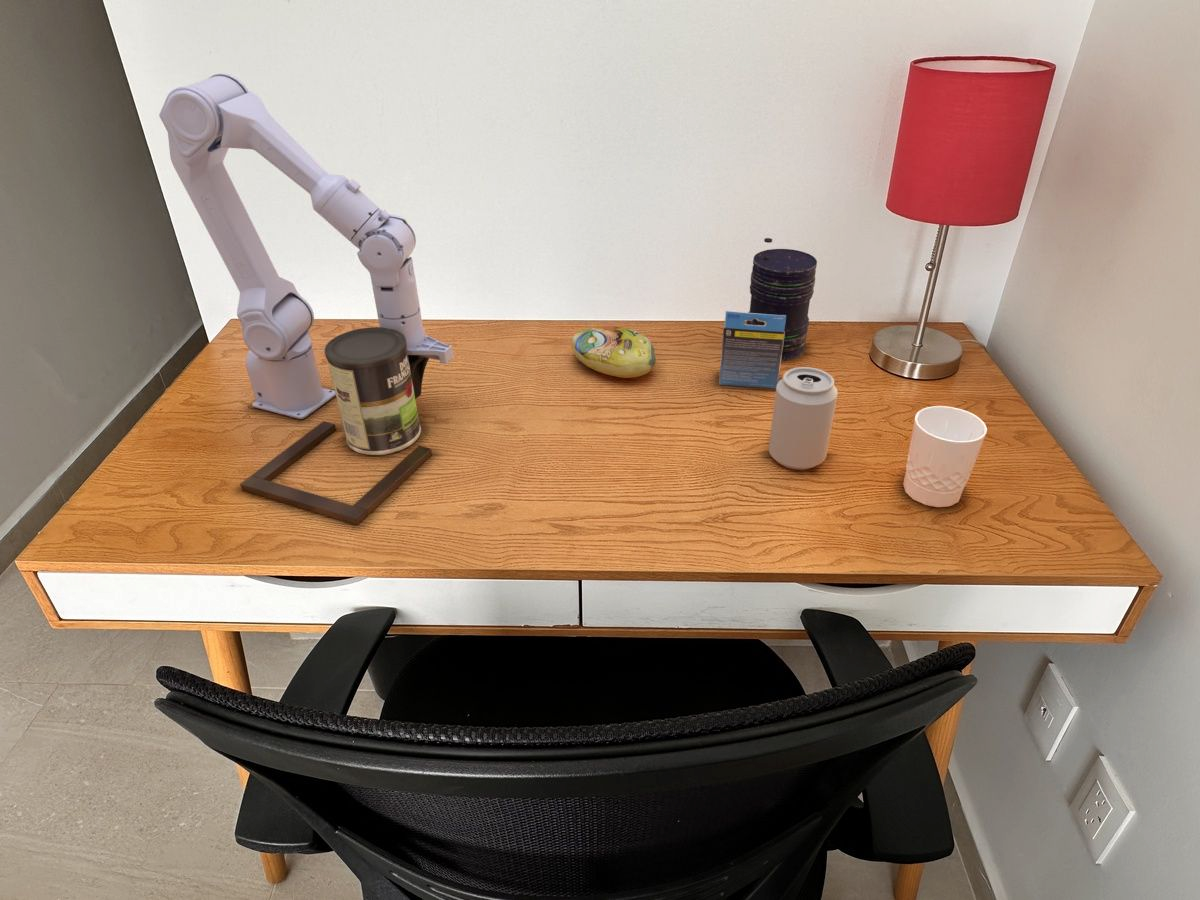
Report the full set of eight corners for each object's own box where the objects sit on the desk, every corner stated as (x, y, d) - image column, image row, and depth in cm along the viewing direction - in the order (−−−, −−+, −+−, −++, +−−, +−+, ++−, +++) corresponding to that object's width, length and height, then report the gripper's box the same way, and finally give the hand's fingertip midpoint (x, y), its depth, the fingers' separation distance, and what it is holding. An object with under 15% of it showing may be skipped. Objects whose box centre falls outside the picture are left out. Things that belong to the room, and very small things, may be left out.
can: (828, 446, 107) (842, 367, 100) (822, 478, 101) (837, 396, 94) (772, 437, 109) (782, 359, 102) (763, 467, 103) (773, 387, 96)
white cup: (957, 518, 94) (979, 449, 88) (890, 497, 97) (907, 429, 92) (971, 484, 99) (992, 417, 94) (907, 465, 103) (924, 399, 97)
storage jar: (805, 336, 134) (821, 231, 124) (804, 363, 126) (821, 254, 116) (746, 331, 136) (756, 227, 126) (741, 357, 128) (751, 249, 118)
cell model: (625, 382, 117) (558, 320, 122) (619, 411, 123) (556, 351, 128) (676, 346, 121) (609, 287, 126) (668, 376, 128) (605, 319, 133)
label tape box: (777, 377, 122) (786, 303, 115) (777, 391, 119) (787, 315, 112) (719, 373, 124) (725, 300, 117) (718, 386, 120) (724, 311, 113)
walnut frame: (241, 490, 100) (239, 484, 100) (324, 426, 112) (323, 420, 112) (357, 525, 94) (355, 519, 94) (432, 454, 106) (431, 448, 106)
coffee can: (432, 418, 114) (418, 329, 106) (404, 459, 106) (386, 366, 97) (365, 411, 116) (346, 323, 107) (332, 451, 107) (309, 359, 99)
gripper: (460, 307, 108) (470, 393, 116) (372, 291, 113) (388, 375, 121) (431, 328, 103) (444, 417, 111) (340, 310, 108) (359, 397, 115)
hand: (413, 396), depth 115 cm, fingers closed, pressing on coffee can
